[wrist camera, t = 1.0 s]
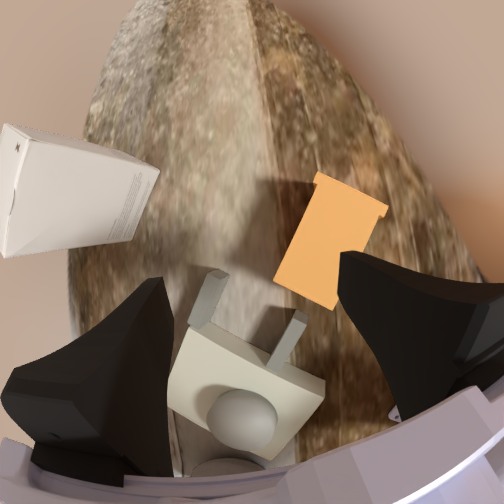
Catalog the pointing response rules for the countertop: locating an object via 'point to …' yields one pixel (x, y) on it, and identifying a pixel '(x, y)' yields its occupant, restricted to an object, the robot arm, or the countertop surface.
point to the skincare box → (67, 192)
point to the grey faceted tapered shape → (225, 467)
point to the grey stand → (241, 381)
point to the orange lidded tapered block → (327, 239)
